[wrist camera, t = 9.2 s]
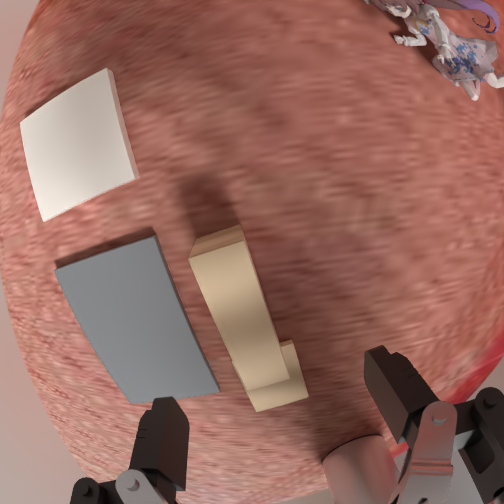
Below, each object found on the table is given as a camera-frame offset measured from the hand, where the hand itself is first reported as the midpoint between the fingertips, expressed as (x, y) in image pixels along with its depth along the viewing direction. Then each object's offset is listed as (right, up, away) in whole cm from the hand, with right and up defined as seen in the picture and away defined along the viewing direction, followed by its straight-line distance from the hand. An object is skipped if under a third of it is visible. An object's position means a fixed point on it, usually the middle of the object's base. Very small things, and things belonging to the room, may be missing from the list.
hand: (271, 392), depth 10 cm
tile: (-12, +9, +6) cm, 16 cm away
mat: (-10, -1, +10) cm, 14 cm away
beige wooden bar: (0, -1, +10) cm, 10 cm away
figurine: (+13, +22, +4) cm, 26 cm away
